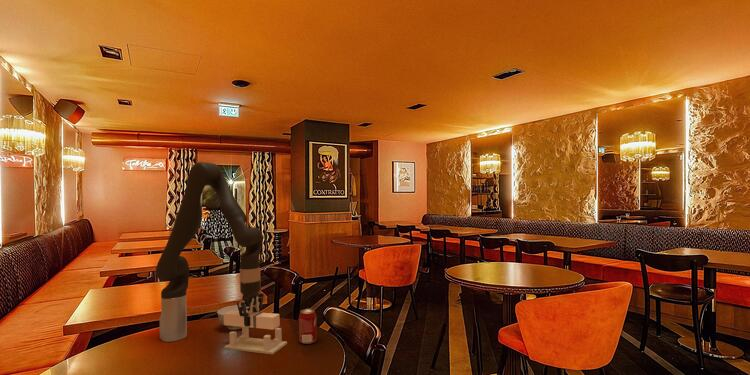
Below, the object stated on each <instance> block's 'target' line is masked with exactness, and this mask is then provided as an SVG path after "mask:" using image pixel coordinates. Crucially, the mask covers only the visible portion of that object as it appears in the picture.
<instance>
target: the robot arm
mask: <svg viewBox="0 0 750 375" xmlns="http://www.w3.org/2000/svg"><path fill="white" fill-rule="evenodd" d="M206 186H210V187H211V189H212V190H213V191H214V192H215V193H216V195H217V197H218V203H219V208H220V211H221V214H222V215H223V217H224V218H225V220H226V221H227V223H228V224H229V226H230V229H231V233H232V235H233V238H234V240H235V243H237V244H238V245H239V246H240V247H241V248H245V251H243V253H241V255H240V261H239V263H240V272H239V285H240V286H239V287H240V288H239V292H240V293H241V294H242V298H241V300H240V301H237V303H236V305H237V306H238V310H239V315H240V316H243V317H244V325H245V326H246V327H249V326H250V312H251V310H252V311H253V312H260V310H262V308H263V302H264V296H265V295H264V293H260V292H261V290H262V286H261V284H262V283H261V268H260V266H261V265H260V254H261V250H262V245H263V233H262V231H261V230H260V228H258V227H256V226H255V227H253V226H252V227H248V226H247V224H246V223H247V222H248V216H247V214H246V213H245V211H244V210H243V208H242V207H241V206H240V204H239V202H238V201H237V200H236V198H235V196H234V194H233V192H232V190H231V187H230V186H229V184H228V181H227V179H226V176H225V174H224V173H223V171H222V169H221V168H220V166H219V164H216V163H213V162H202V161H201V162H200V161H199V162H195V163H194V164H193V165H192V167H191V168H190V170H189V173H188V177H187V181H186V185H185V190H184V194H183V197H182V200H181V203H180V205H179V206H180V207H179V209H178V212H177V214H176V217H175V219H174V223H173V225H172V230H171V232H170V235H169V237H168V240H167V242H166V244H165V248H164V249H163V250H162V253H161V256H160V257H159V260H158V261H157V264H156V266H155V275H156V277H157V279H158V281H161V282H169V283H168V284H167V285H166V286H165V287H164V288H163V289H162V290H161V292H160V305H161V307H160V308H161V314H160V315H159V340H161V341H162V342H165V343H169V342H177V341H180V340H184V339H185V338H186V337H188V324H187V323H188V319H187V318H188V315H187V307H188V306H187V302H188V301H187V290H188V288H189V278H190V276H189V275H190V274H189V273H190V268H189V267H190V265H189V262H188V260H187V258H186V257H184V256H182V255H181V254H182V252H183V250H184V249H186V247H187V246H188V244H189V243H190V242H191V241H192V240H193V239H194V238H195V236H196V235H197V233H198V231H199V229H200V226H201V223H202V220H203V210H202V205H201V204H202V203H201V199H202V195H203V192H204V190H205V187H206ZM246 307H249V308H246ZM246 310H248V313H247V312H246ZM242 311H243V313H242ZM249 328H250V327H249Z"/></svg>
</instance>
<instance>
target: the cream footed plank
mask: <svg viewBox="0 0 750 375" xmlns="http://www.w3.org/2000/svg"><path fill="white" fill-rule="evenodd" d="M249 328H250V327H242V328H241V329H242V330H241V335H239V336H237V334H238V333H237V331H235V330H234V331H233V330H231V331H230V332H229V343H228V344H226V345H224V349H225V350H233V351H242V352H251V353H259V354H267V355H274V354H276V353H277V352H278V351H279V350H280V349H282V348H283V347H284V346H286V345H287V344H288V341H283V339H282V334H283V333H282V332H283V330H282V327H277V328H275V329H274V338H273V339H271V338H272V336H271V334H265V335H264V336H263V338H258V337H257V338H256V337H250V330H249Z"/></svg>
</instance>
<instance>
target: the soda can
mask: <svg viewBox="0 0 750 375" xmlns="http://www.w3.org/2000/svg"><path fill="white" fill-rule="evenodd" d="M317 331H318V330H317V314H316V312H315V309H313V308H305V309H301V310H300V313H299V315H298V340H299V342H300V343H301V344H303V345H311V344H313V343H315V342H316V341H317V337H318V335H317Z"/></svg>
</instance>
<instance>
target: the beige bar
mask: <svg viewBox="0 0 750 375" xmlns="http://www.w3.org/2000/svg"><path fill="white" fill-rule="evenodd" d="M246 312H247V311H246ZM242 313H243V311H242ZM247 313H248V312H247ZM280 323H281V322H280V314H279V313H270V312H268V313H267V312H262V311H261V312H260V311H259V312H250V326H249V328H252V329H265V330H275V329H276V328H279V327H280V325H281V324H280ZM225 325H229V326H240V327H246V326H245V325H244V317H243V316H240V315H239V311H234V310H231V311H229V312H226V313H224V324H223V326H225Z"/></svg>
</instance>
